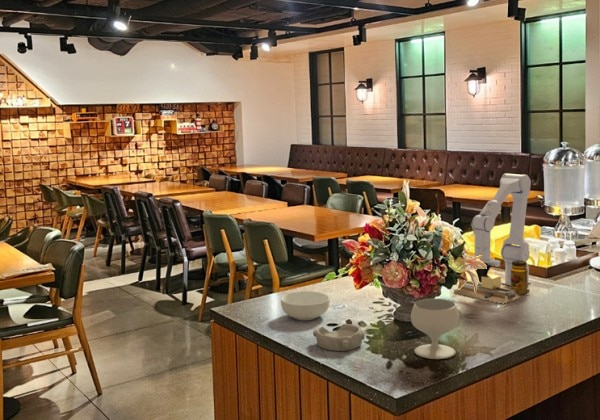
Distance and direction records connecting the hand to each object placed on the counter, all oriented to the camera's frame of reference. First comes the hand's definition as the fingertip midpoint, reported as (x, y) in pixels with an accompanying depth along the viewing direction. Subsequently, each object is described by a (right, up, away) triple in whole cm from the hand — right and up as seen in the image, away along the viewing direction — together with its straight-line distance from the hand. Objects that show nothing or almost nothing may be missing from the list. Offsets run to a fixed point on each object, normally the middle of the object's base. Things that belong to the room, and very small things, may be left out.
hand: (482, 282), depth 268 cm
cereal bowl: (-67, -10, -20) cm, 71 cm away
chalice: (-29, -15, -58) cm, 67 cm away
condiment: (+15, -4, +3) cm, 16 cm away
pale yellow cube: (+3, -3, -3) cm, 5 cm away
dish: (-57, -15, -49) cm, 76 cm away
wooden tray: (+1, -5, -1) cm, 5 cm away
